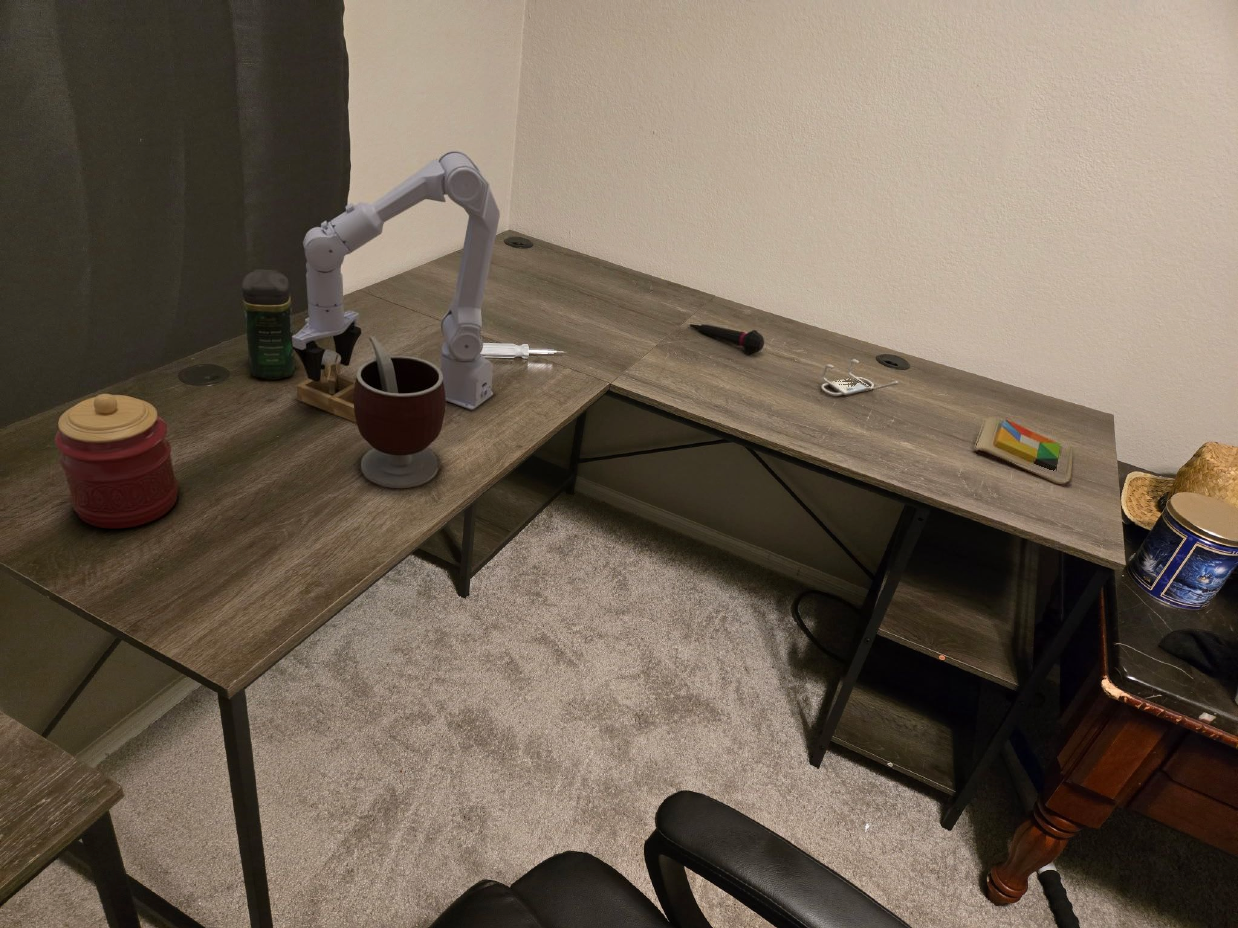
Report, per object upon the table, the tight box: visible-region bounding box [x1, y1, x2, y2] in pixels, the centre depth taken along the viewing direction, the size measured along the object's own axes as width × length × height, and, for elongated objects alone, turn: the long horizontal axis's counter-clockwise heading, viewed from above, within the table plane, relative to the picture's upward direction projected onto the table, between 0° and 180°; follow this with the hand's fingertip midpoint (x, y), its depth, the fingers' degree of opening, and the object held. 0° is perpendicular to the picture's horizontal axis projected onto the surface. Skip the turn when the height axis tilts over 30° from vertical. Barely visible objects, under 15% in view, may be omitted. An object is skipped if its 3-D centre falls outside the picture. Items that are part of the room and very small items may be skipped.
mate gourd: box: [353, 335, 447, 489], centre depth 126 cm, size 16×14×20 cm
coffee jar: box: [241, 269, 296, 380], centre depth 145 cm, size 10×8×19 cm
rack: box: [296, 373, 357, 424], centre depth 143 cm, size 15×8×3 cm, turn 67°
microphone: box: [689, 323, 765, 355], centre depth 193 cm, size 6×6×20 cm
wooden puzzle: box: [973, 416, 1075, 485], centre depth 169 cm, size 18×19×4 cm
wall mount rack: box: [820, 359, 899, 397], centre depth 180 cm, size 16×14×6 cm
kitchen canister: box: [54, 393, 179, 529], centre depth 109 cm, size 13×13×18 cm
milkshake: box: [318, 349, 341, 396], centre depth 142 cm, size 4×5×10 cm
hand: (329, 371), depth 142 cm, fingers open, 7 cm apart
